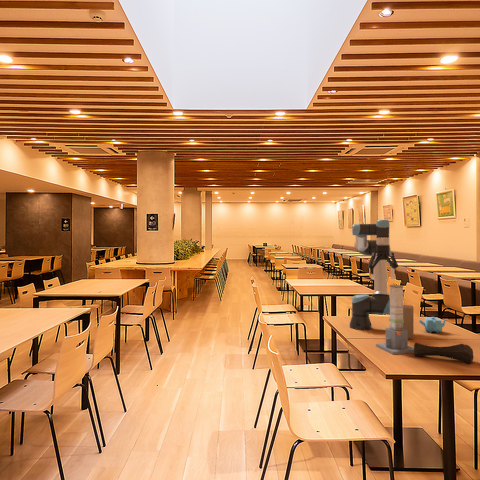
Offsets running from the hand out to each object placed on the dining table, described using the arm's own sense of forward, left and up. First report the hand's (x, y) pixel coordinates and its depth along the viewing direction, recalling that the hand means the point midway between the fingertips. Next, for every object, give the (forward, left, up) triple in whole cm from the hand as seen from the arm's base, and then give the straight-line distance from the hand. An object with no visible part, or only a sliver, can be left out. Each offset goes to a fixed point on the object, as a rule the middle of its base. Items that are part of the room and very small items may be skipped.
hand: (382, 279), depth 230 cm
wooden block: (-6, +20, -39) cm, 44 cm away
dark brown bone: (+38, +10, -39) cm, 55 cm away
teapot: (-14, +48, -39) cm, 63 cm away
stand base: (+16, -2, -39) cm, 42 cm away
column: (+16, -2, -29) cm, 33 cm away
